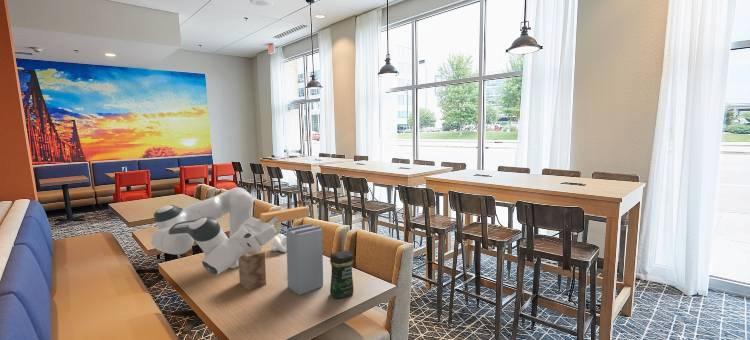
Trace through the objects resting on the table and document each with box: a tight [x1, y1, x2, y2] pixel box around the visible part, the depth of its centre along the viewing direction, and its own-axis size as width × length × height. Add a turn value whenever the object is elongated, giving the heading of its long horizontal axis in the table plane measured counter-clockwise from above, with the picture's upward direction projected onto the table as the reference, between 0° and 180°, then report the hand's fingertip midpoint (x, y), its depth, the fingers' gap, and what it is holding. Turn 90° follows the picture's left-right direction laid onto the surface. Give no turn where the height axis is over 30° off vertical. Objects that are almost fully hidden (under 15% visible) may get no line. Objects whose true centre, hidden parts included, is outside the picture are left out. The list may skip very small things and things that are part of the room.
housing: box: [285, 222, 324, 295], centre depth 153 cm, size 12×10×27 cm
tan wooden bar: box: [259, 205, 310, 224], centre depth 144 cm, size 20×4×4 cm, turn 133°
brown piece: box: [238, 249, 267, 291], centre depth 156 cm, size 8×10×15 cm
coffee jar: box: [329, 249, 355, 299], centre depth 146 cm, size 10×8×19 cm
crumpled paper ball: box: [271, 233, 287, 253], centre depth 200 cm, size 11×12×9 cm
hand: (273, 216), depth 140 cm, fingers closed on tan wooden bar, 4 cm apart
